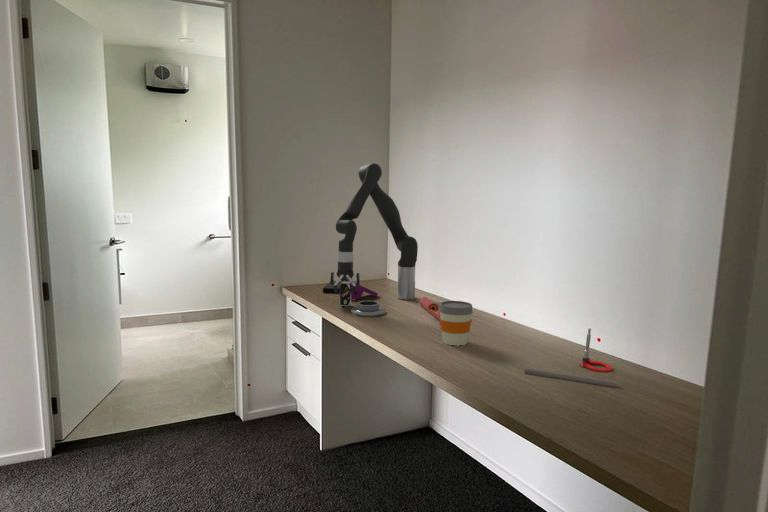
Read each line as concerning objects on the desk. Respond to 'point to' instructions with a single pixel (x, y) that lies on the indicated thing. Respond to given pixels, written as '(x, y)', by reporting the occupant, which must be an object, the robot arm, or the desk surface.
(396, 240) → the robot arm
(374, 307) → the rosette socket
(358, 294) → the mounting bracket
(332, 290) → the external hard drive
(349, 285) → the beverage can
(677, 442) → the desk surface
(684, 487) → the desk surface
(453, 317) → the reusable coffee cup
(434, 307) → the blood vessel
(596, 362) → the tow hook
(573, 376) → the metal rod
